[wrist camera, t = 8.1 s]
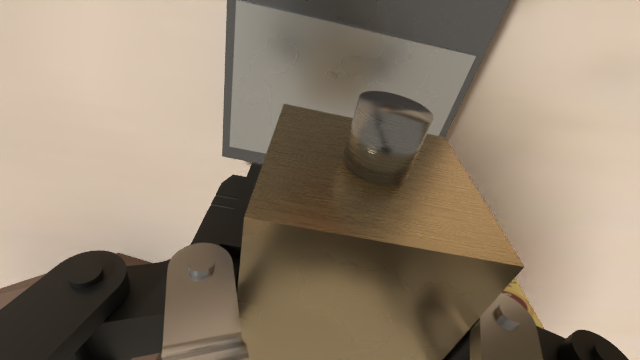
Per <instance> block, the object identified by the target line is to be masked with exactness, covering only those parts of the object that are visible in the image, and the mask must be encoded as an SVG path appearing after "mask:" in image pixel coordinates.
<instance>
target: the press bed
mask: <svg viewBox="0 0 640 360" xmlns="http://www.w3.org/2000/svg"><path fill="white" fill-rule="evenodd" d="M509 3H510V0H227V21H226V53H225V85H224V117H223V149H222V156H224V157H229V158H234V159H239V160H244V161H250V162H255V163H260V164H263V162H264V159H265V156H266V153H267V150H268V147H269V145H270V142H271V139H272V136H273V133H274V130H275V127H276V124H277V122H278V119H279V116H280V113H281V110H282V107H283V104H288V105H293V106H298V107H303V108H307V109H312V110H317V111H322V112H326V113H331V114H336V115H341V116H345V117H350V118H353V116H354V112H355V109H356V105H357V102H358V99H359V95H360V94H361V93H363V92H366V91H383V92H389V93H393V94H397V95H400V96H403V97H406V98H409V99H411V100H413V101H416V102H418V103H419V104H421V105H423V106H424V107H426V108H427V109H428V110H429V111H430V112H431V113H432V114H433V117H434V118H433V121H432V123H431V126H430V128H429V130H428V132H427V134H431V135H436V136H440V137H445V135H446V133H447V131H448V129H449V127H450V125H451V122H452V120H453V118H454V116H455V114H456V112H457V110H458V108H459V106H460V104H461V102H462V100H463V98H464V96H465V94H466V91H467V89H468V87H469V85H470V83H471V81H472V79H473V77H474V75H475V73H476V71H477V69H478V67H479V65H480V63H481V60H482V58H483V56H484V54H485V52H486V50H487V48H488V46H489V44H490V42H491V40H492V38H493V36H494V34H495V31H496V29H497V27H498V25H499V23H500V21H501V19H502V17H503V15H504V13H505V11H506V9H507V7H508V5H509Z"/></svg>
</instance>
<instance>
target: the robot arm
mask: <svg viewBox="0 0 640 360" xmlns="http://www.w3.org/2000/svg"><path fill="white" fill-rule="evenodd" d="M262 165H263V164H257V163H252V165H251V167H250V170H249V172H248V175H247V177H243V176H238V175H232V176H231V177H229V178H228V179H226V180H225V181H224V182H222V183H221V185H220V187H219V189H218V191H217V193H216V196H215V197H214V199H213V201H212V203H211V206H210V207H209V209H208V211H207V213H206V215H205V217H204V219H203V221H202V223H201V225H200V227H199V229H198V231H197V233H196V235H195V237H194V239H193V241H192V243H191V244H190V245H189V246H186V247H184V248H183V249H181V250H179V251H178V252H177V253H176V254H175V255H174V256H173V257H172V258H171V259H170V260H167V261H163V262H159V263H152V264H142V265H132V266H126V264H125V262H124V260H123V259H122V258H121V257H120V256H119V255H117V254H115V253H112V252H109V251H89V252H84V253H81V254H78V255H75V256H73V257H70V258H68V259H66V260H65V261H63V262H61V263H60V264H59V265H57V266H56V267H55V268H53V269H52V270H51V271H49V272H48V273H47V274H46V275H44V276H43V277H42V278H40V279H39V280H38V281H37V282H35V283H34V284H33V285H31V286H30V287H29V288H28V289H26V290H25V291H24V292H22V293H21V294H20V295H19V296H17V297H16V298H15V299H13V300H12V301H11V302H10V303H8V304H7V305H6V306H4V307H3V308H2V309H1V310H0V360H132V358H136V357H141V356H147V355H152V354H157V353H162V356H161V360H249V354H248V349H247V346H246V343H244V342H243V338H242V333H241V325H240V317H239V309H238V301H237V289H238V278H239V268H240V257H241V246H242V235H243V224H244V216H245V213H246V210H247V208H248V205H249V202H250V199H251V196H252V193H253V190H254V188H255V185H256V182H257V179H258V176H259V173H260V170H261V167H262ZM443 360H629V359H628V358H627V357H626V356H625V355H624V354H623V353H622V352H621V351H620V350H619V349H618V348H617V347H616V346H614V345H613V344H612V343H610V342H609V341H608V340H606V339H605V338H603V337H601V336H600V335H598V334H595V333H593V332H590V331H587V330H577V331H575V332H574V333H572V334H571V335H570V336H569V337H568V338H566V339H565V338H563V337H561V336H559V335H556V334H554V333H552V332H550V331H547V330H545V329H543V328H541V327H538V326H536V324H535V322H534V320H533V318H532V316H531V315H530V314H529V312H528V311H527V310H526V309H525V308H524V307H523V306H522V305H521V304H520V303H519V302H517V301H516V300H514V299H513V298H511V297H510V296H508V295H506V294H503V293H501V294H500V295H499V296H498V297H497V298H496V299H495V301H494V302H493V303H492V304H491V305H490V306H489V307H488V309H487V310H486V311H485V312H484V313H483V314H482V315H481V317H480V318H479V319H478V320H477V321H476V322H475V323H474V325H473V326H472V327H471V328H470V329H469V330H468V331H467V332H466V334H465V335H464V336H463V337H462V338H461V339H460V340H459V342H458V343H457V344H456V345H455V346H454V347H453V348H452V350H451V351H450V352H449V353H448V354H447V355H446V356H445V358H444V359H443Z"/></svg>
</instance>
